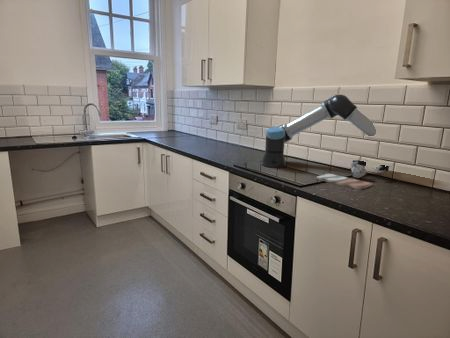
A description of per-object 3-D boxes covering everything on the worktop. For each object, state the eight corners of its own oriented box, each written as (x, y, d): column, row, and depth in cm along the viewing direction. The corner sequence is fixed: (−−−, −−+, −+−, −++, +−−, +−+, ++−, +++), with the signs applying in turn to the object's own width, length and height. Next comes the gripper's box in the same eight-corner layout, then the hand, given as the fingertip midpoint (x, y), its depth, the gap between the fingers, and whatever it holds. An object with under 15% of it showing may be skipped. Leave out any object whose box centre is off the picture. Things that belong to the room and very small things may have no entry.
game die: (354, 183, 170) (353, 167, 174) (370, 181, 164) (368, 164, 168) (347, 178, 164) (346, 161, 168) (363, 175, 158) (362, 158, 162)
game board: (315, 178, 164) (315, 176, 163) (327, 175, 172) (328, 173, 172) (360, 189, 146) (360, 187, 145) (372, 185, 154) (372, 183, 154)
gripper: (401, 173, 173) (386, 178, 159) (358, 165, 191) (341, 169, 177) (403, 160, 171) (388, 165, 157) (359, 153, 189) (343, 157, 176)
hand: (363, 167), depth 167 cm, fingers open, 13 cm apart
